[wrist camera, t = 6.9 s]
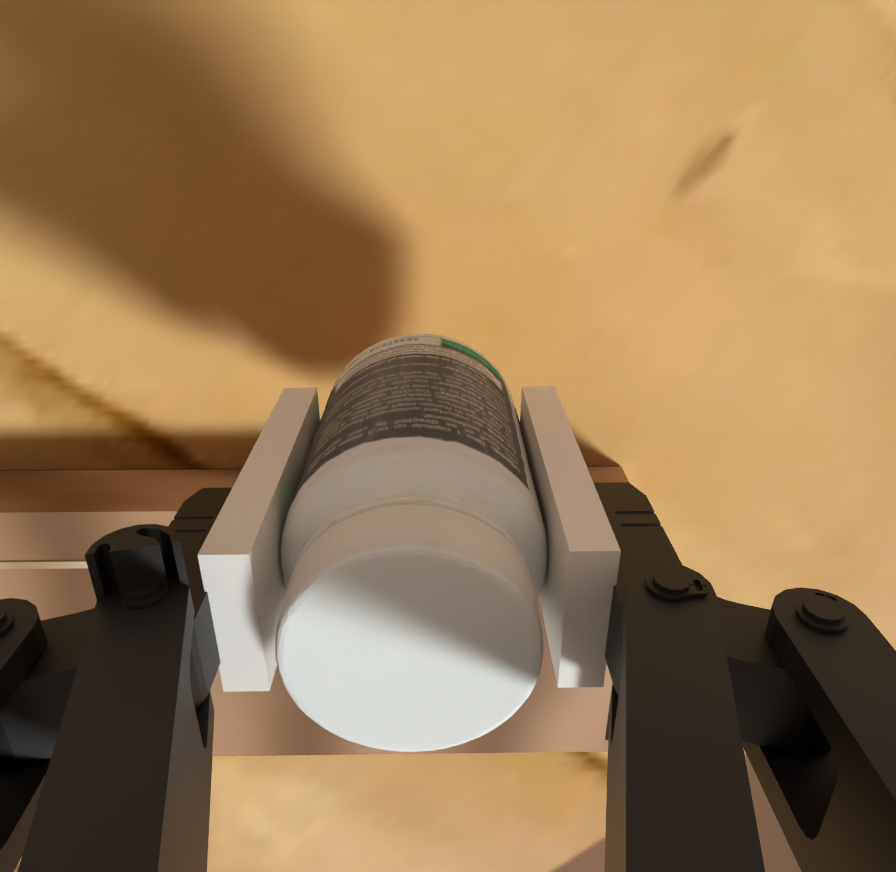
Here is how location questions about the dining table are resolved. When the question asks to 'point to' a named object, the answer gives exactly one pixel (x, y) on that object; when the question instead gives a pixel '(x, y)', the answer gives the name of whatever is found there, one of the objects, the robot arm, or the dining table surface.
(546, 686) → the board
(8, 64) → the dining table surface
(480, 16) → the dining table surface
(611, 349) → the dining table surface
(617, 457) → the dining table surface
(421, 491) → the pill bottle
